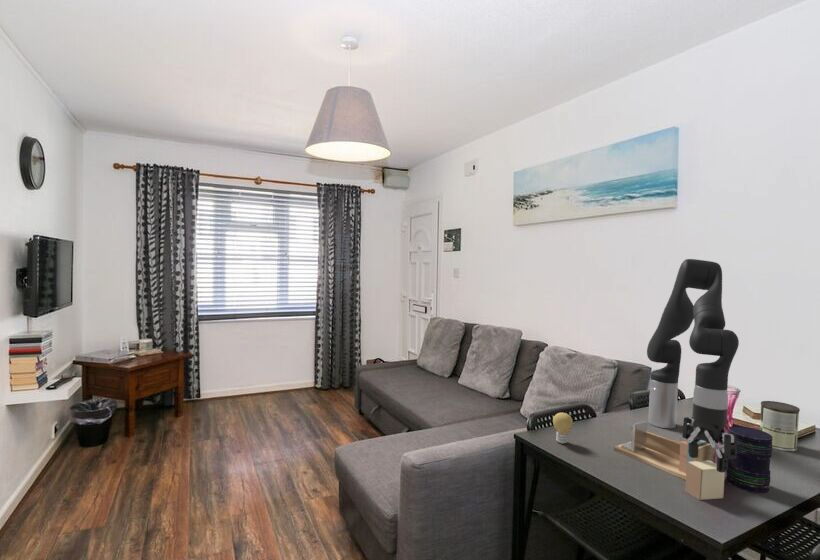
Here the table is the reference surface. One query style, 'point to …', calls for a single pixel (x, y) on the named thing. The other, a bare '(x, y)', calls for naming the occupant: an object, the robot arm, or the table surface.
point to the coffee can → (780, 424)
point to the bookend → (637, 437)
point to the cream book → (704, 480)
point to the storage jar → (750, 460)
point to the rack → (669, 454)
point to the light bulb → (562, 426)
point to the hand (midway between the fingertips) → (706, 464)
